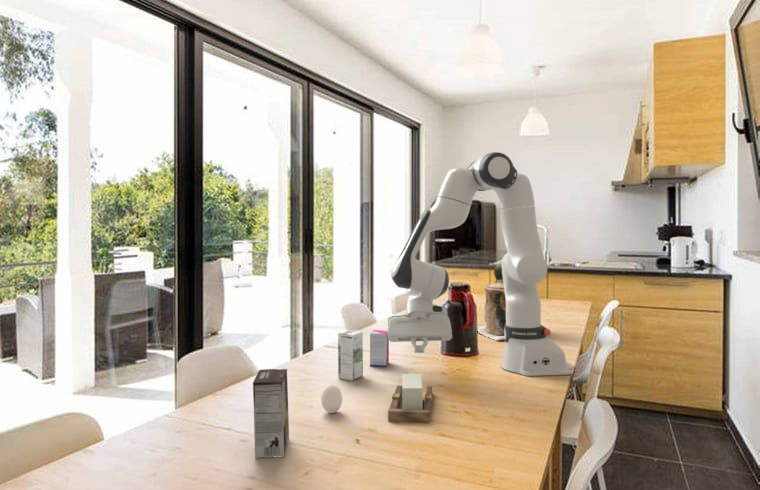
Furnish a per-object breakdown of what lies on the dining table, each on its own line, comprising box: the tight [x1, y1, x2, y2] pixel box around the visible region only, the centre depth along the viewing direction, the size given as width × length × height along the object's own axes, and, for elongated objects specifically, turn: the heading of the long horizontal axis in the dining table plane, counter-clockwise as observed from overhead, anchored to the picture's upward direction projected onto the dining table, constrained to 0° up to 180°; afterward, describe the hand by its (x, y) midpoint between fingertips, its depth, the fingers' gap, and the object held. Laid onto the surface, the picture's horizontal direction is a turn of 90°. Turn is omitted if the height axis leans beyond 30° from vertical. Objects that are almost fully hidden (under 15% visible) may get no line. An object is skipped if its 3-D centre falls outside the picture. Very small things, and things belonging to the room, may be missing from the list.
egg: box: [321, 383, 343, 414], centre depth 124 cm, size 5×5×7 cm
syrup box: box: [337, 329, 364, 382], centre depth 153 cm, size 6×6×14 cm
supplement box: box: [369, 329, 390, 368], centre depth 167 cm, size 6×6×12 cm
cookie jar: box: [477, 263, 506, 342], centre depth 210 cm, size 25×25×32 cm
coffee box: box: [252, 368, 290, 459], centre depth 105 cm, size 9×6×16 cm
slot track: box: [387, 385, 433, 424], centre depth 128 cm, size 10×20×3 cm, turn 172°
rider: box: [401, 373, 424, 410], centre depth 128 cm, size 5×12×7 cm, turn 177°
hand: (419, 351), depth 148 cm, fingers closed
